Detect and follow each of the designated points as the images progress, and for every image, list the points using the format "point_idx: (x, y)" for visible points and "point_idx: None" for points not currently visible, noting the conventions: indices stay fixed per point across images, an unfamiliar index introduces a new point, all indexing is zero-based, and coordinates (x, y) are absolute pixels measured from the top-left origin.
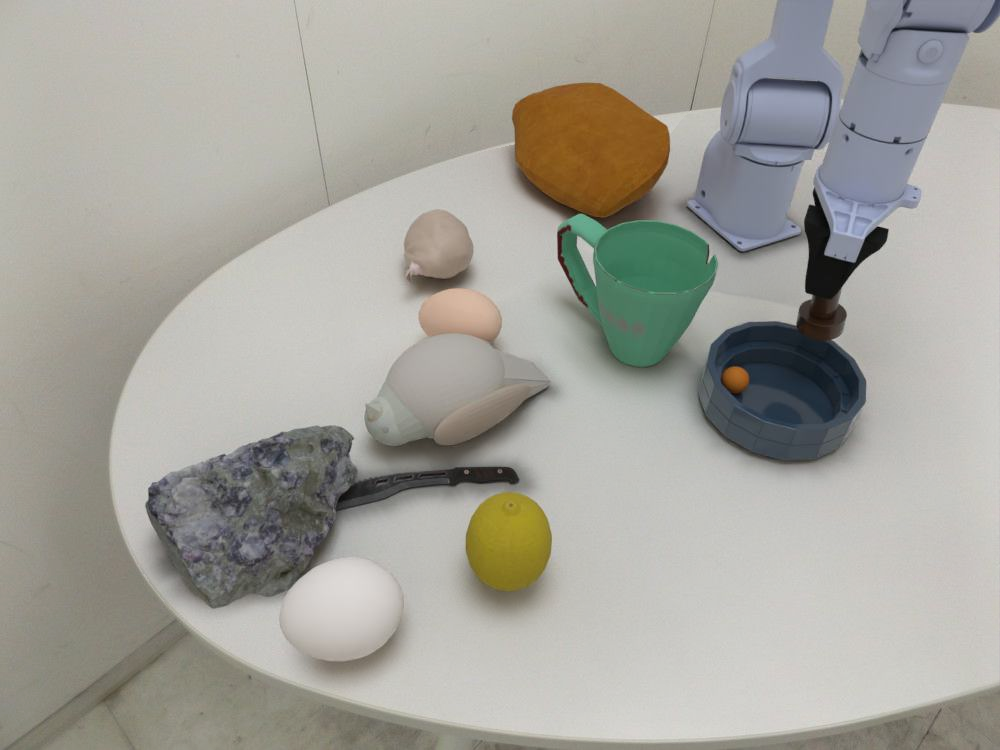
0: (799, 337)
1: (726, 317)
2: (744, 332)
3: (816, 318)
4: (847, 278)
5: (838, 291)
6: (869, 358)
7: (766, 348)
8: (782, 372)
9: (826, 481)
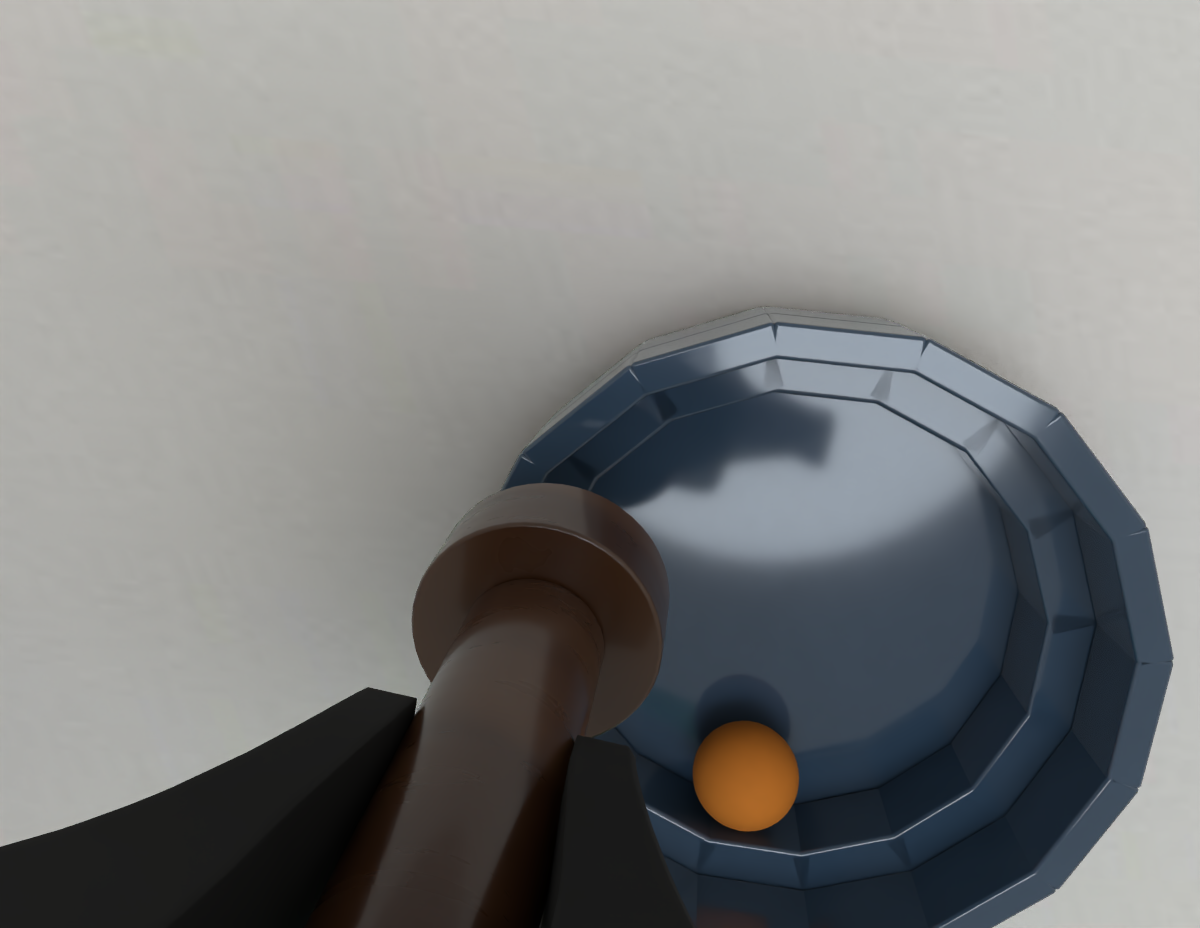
0: None
1: None
2: None
3: (602, 677)
4: (664, 860)
5: (632, 773)
6: (390, 192)
7: None
8: None
9: (1145, 421)
